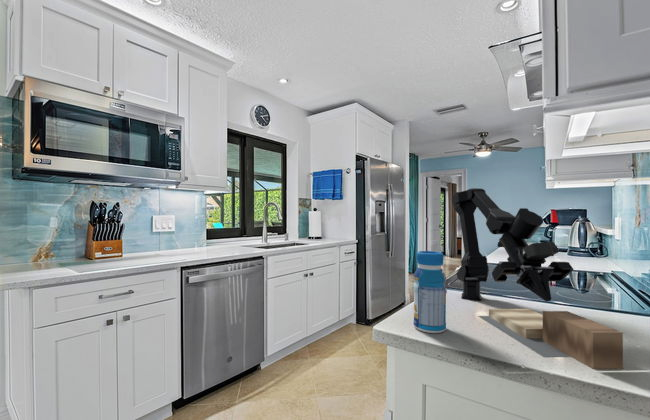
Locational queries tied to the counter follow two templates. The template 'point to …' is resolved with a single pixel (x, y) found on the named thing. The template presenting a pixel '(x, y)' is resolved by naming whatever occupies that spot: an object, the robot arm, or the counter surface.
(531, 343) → the rubber mat
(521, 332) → the birch board
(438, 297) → the beverage bottle
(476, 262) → the robot arm
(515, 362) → the counter surface
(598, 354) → the walnut block
